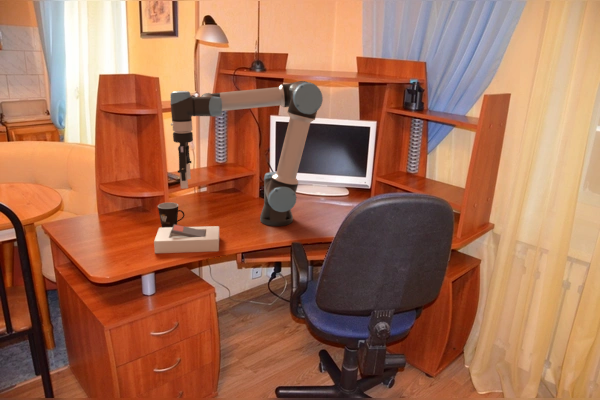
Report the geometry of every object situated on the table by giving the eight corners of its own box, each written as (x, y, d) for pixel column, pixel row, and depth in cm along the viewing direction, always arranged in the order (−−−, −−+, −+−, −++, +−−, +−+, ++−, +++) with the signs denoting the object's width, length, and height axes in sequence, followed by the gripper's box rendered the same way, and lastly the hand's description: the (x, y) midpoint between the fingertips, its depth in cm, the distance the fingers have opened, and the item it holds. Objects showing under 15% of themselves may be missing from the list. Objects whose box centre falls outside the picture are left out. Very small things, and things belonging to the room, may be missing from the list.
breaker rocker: (204, 233, 180) (205, 230, 180) (203, 239, 174) (204, 236, 174) (173, 226, 177) (173, 223, 177) (171, 233, 171) (171, 230, 171)
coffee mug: (155, 226, 195) (154, 205, 191) (173, 222, 200) (172, 201, 197) (168, 234, 187) (167, 212, 184) (186, 229, 193) (185, 207, 189)
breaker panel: (219, 237, 186) (219, 226, 184) (218, 251, 172) (218, 239, 171) (160, 238, 182) (159, 227, 180) (154, 253, 169) (153, 241, 167)
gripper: (176, 126, 185) (179, 175, 192) (168, 137, 162) (172, 192, 168) (194, 126, 186) (197, 175, 193) (189, 137, 163) (193, 192, 169)
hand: (186, 183), depth 180 cm, fingers open, 13 cm apart
